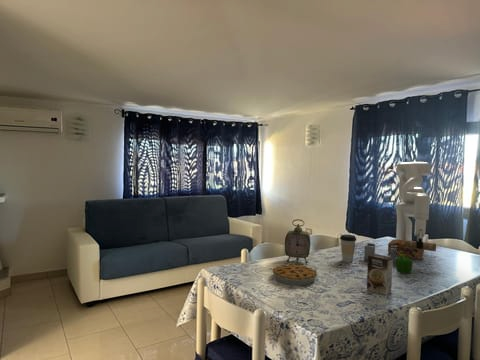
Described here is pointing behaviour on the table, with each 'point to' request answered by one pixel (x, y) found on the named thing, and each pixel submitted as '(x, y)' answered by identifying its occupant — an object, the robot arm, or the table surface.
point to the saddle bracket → (393, 254)
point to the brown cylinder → (425, 245)
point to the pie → (294, 274)
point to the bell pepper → (404, 264)
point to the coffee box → (379, 274)
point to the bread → (405, 250)
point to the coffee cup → (347, 247)
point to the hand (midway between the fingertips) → (419, 247)
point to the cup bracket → (368, 250)
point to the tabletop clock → (297, 243)
